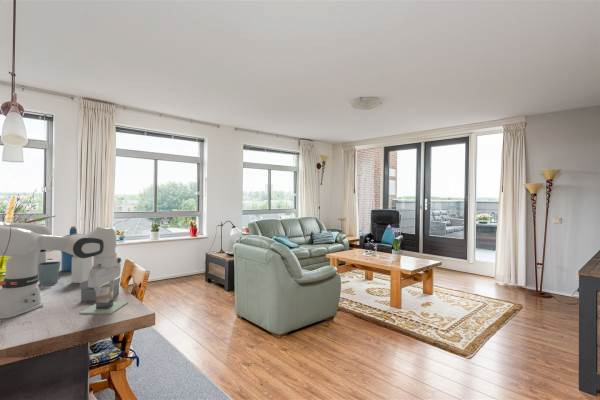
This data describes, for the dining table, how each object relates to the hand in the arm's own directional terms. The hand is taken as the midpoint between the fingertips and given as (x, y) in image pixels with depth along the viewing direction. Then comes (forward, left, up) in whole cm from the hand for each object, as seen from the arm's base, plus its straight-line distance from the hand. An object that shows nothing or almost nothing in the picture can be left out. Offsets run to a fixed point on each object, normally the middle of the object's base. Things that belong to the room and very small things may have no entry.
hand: (104, 291), depth 147 cm
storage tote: (+16, +11, -8) cm, 21 cm away
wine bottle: (+75, +64, -8) cm, 99 cm away
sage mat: (0, 0, -8) cm, 8 cm away
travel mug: (+52, +69, -8) cm, 87 cm away
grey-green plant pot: (+41, +55, -8) cm, 69 cm away
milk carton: (+45, +39, -8) cm, 60 cm away
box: (0, 0, -7) cm, 7 cm away
